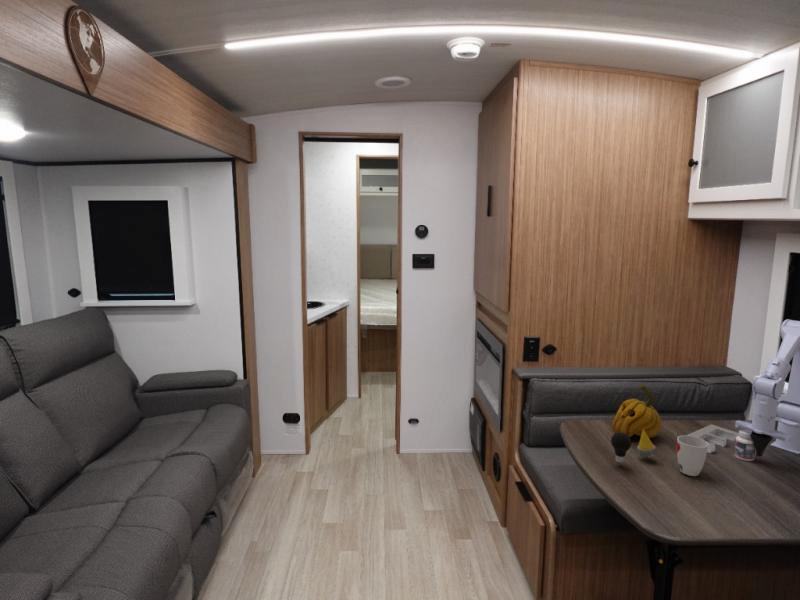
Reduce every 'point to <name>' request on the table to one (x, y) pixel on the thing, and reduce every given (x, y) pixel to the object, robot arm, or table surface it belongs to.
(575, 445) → the table surface
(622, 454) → the light bulb
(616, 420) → the pumpkin
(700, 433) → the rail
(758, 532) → the table surface
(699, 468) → the cup
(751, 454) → the pill bottle
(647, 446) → the yellow cone
